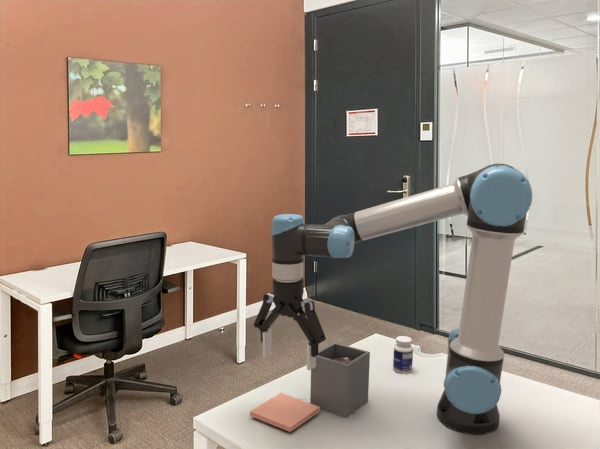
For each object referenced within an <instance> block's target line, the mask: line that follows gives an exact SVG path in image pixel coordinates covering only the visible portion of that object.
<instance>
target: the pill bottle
mask: <svg viewBox="0 0 600 449" xmlns="http://www.w3.org/2000/svg"><path fill="white" fill-rule="evenodd" d="M395 338H396V339H395V343H396V344H394V346H393V361H392V362H393V364H392V369H393V371H394V372H397V373H399V374H408V373H411V372H412V370H413V362H414V361H413V357H414V347H413V345H412V343H413V339H412V337H409V336H406V335H399V336H397V337H395Z"/></svg>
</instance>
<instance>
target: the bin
mask: <svg viewBox="0 0 600 449" xmlns="http://www.w3.org/2000/svg"><path fill="white" fill-rule="evenodd" d="M370 355H371V352H370V351H367V350H364V349H361V348H356V347H352V346H349V345H346V344H342V343H338V342H333V343H330V344H329V345H327V346H325V347H323V348H321V349H320V350H319V349H318V355H317V356H316V367H315V368H313V369H311V370H310V400H309V403H311V404H313V405H316V406H319V407H320V410H322V411H325V412H328V413H331V414H333V415H336V416H339V417H342V418H345V419H348V418H349V417H350V416H351V415H353V414H354V413H356V412H357V411H358V410H359V409H360V408H362V407H363V406H365V404H367V403H368V402H369V387H370V386H369V385H370V358H371V356H370ZM341 357H347V358H349V359H351V360H352V361H351V362H349V363H348V364H345V363H342V362H339V361H335V360H333V359H336V358H341Z"/></svg>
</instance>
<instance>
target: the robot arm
mask: <svg viewBox="0 0 600 449" xmlns="http://www.w3.org/2000/svg"><path fill="white" fill-rule="evenodd" d="M532 201H533V190H532V186H531V184H530V181H529V180H528V177H526V175H525V174H524V173H522V172H521V171H520V170H519V169H517V168H515V167H513V166H511V165H509V164H507V163H506V164H505V163H493V164H489V165H486V166H485V167H483V168H480V169H478V170H477V171H476V170H475V171H473V172H471V173H468V174H466V175H462V176H459V177H457V178H456V179H455V181H454V182H453V183H450V184H447V185H444V186H440V187H436V188H432V189H429V190H427V191H422V192H419V193H415V194H413V195H410V196H406V197H403V198H399V199H395V200H392V201H388V202H385V203H382V204H378V205H375V206H371V207H369V208H365V209H362V210H361V209H360V210H359V211H355V212H351V213H348V214H345V215H344V214H340V215H337V216H335V217H332V219H331V220H329V221H328V222H326V223H325V224H308V223H305V221H304V217H303V216H302V215H301V214H296V213H284V214H277V215H275V216H273V218H272V221H271V222H272V223H271V224H272V225H271V250H272V254H271V255H272V257H271V258H272V262H271V263H272V264H271V266H272V270H271V271H272V272H271V273H272V275H271V276H272V278H273V279H272V292H268V293H266V294H263V296H262V303H261V304H262V305H261V307H260V309H259V312H258V313H257V315H256V318H255V320H254V323H253V326H254V328H257V329H259V331H260V343H261V344H262V357H263V358H266V359H267V357H269V356H272V355H273V341H272V340H273V337H272V336H273V335H272V333H273V332H272V331H273V330H272V329H271V326H273V324H274V323H275V321H276V320H277V319H278V317H279V316H283V317H288V318H292V319H293V320H294V321H295V322H296V323H297V325H298V327H299V328H300V329H301V331H302V332H303V334H304V335H305V337H306V339H307V340H308V343H306V370H307V371H311V369H313V368H315V367H316V356H317V355H318V351H319V344H321V343H322V342H323V343H324V341H326V340H327V337H326V335H325V332H324V329H323V328H322V324H321V322H320V320H319V317H318V315H317V312H316V306H315V302H314V301H313V300H310V301H305V300H304V299H303V296H304V291H305V290H304V288H305V287H304V286H305V285H304V283H305V282H304V279H303V277H304V256H307V257H320V258H321V257H322V258H334V259H346V258H350V257H352V255H353V253H354V250H355V244H356V243H361V242H363V241H366V240H370V239H373V238H378V237H381V236H385V235H388V234H393V233H396V232H400V231H403V230H408V229H411V228H414V227H415V228H416V227H418V226H422V225H427V224H430V223H435V222H437V221H441V220H444V219H448V218H451V217H452V218H453V217H456V216H460V215H465V216H467V220H466V227H467V228H468V229H469V231H470V232H471V234H472V237H471V243H470V249H469V250H470V251H469V257H468V258H469V259H468V263H467V264H468V266H467V273H466V278H465V280H466V281H465V285H464V293H463V301H462V308H461V314H460V322H459V328H454V329H452V330H450V331H449V333H448V339H447V342H448V343H447V344H448V345H447V346H448V348H447V356H446V357H447V359H446V368H445V369H446V370H445V378H444V380H443V388H444V389H443V391H442V394H441V396H440V399H439V401H438V402H437V406H436V407H437V408H436V417H437V419H438V420H439V421H440V423H442V425H444V426H446V427H448V428H449V429H452V430H454V431H458V432H460V433H464V434H471V435H472V434H473V435H484V434H489V433H493V432H494V431H496V430H497V429H498V428H499V426H500V411H499V408H498V407H499V406H498V403H499V401H500V398H501V396H502V385H501V380H502V379H501V377H502V372H503V371H502V370H503V365H504V357H505V352H504V350H503V349H502V348H501V347H500V345H499V342H500V336H501V329H502V323H503V317H504V311H505V310H504V309H505V304H506V299H507V298H506V296H507V293H508V292H507V290H508V284H509V280H510V279H509V277H510V273H511V272H510V271H511V266H512V260H513V259H512V258H513V254H514V246H515V241H516V239H518V238H519V237H521V236H522V235H523V234H524V233H525V226H526V220H527V214H528V212H529V210H530V207H531V205H532V203H533V202H532ZM273 304H274V307H273V309H272V311H271V312H270V309H271V307H272V305H273ZM269 312H270V314H269V315H268V313H269Z"/></svg>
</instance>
